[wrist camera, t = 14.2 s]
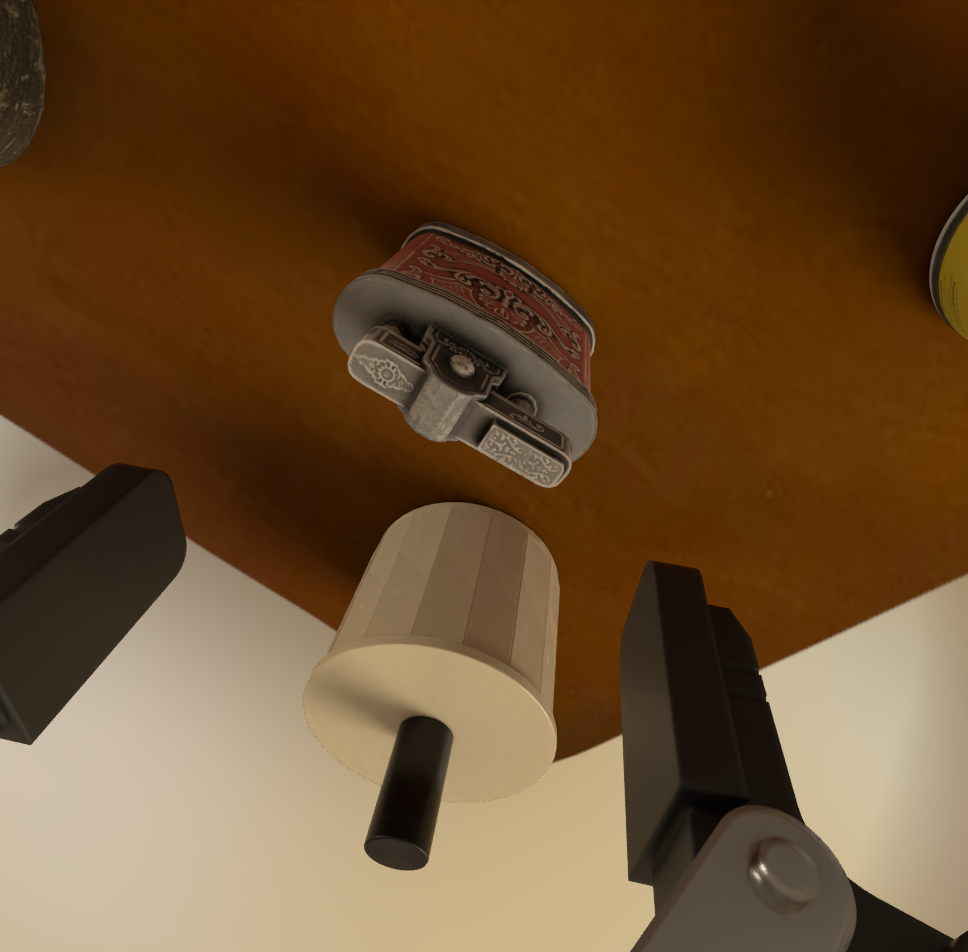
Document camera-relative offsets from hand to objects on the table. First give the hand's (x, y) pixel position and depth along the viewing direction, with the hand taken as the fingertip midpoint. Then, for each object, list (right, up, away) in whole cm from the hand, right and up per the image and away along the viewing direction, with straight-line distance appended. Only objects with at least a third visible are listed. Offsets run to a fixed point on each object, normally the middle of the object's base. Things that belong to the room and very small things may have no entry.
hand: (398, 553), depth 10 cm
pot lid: (-1, -9, +14) cm, 16 cm away
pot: (+1, -4, +21) cm, 21 cm away
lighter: (+2, +8, +13) cm, 15 cm away
